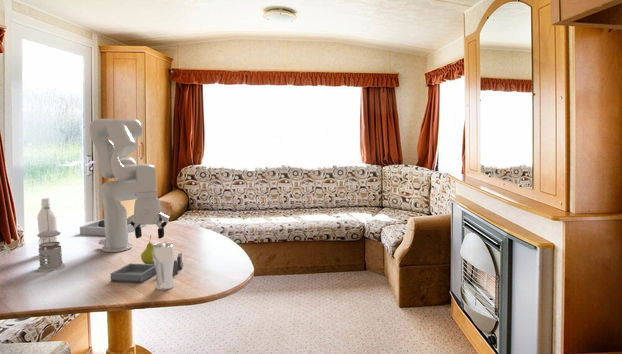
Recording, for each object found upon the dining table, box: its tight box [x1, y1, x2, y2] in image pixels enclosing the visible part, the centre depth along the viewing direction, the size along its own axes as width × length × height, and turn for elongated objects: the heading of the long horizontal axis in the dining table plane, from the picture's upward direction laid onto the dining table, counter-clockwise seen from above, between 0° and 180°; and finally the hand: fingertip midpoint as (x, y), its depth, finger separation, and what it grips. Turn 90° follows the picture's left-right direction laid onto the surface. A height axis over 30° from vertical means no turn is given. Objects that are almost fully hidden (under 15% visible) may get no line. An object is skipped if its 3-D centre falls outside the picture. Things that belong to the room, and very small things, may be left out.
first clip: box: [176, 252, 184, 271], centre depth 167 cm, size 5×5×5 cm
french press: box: [36, 206, 66, 272], centre depth 167 cm, size 10×12×25 cm
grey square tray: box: [110, 263, 156, 284], centre depth 156 cm, size 12×12×3 cm
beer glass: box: [153, 242, 175, 291], centre depth 145 cm, size 7×7×15 cm
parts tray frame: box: [79, 217, 147, 236], centre depth 233 cm, size 24×24×4 cm
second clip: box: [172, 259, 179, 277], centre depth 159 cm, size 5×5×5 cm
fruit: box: [140, 234, 154, 264], centre depth 170 cm, size 7×7×12 cm
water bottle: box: [36, 198, 58, 250], centre depth 185 cm, size 7×7×25 cm
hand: (149, 237), depth 169 cm, fingers open, 9 cm apart
